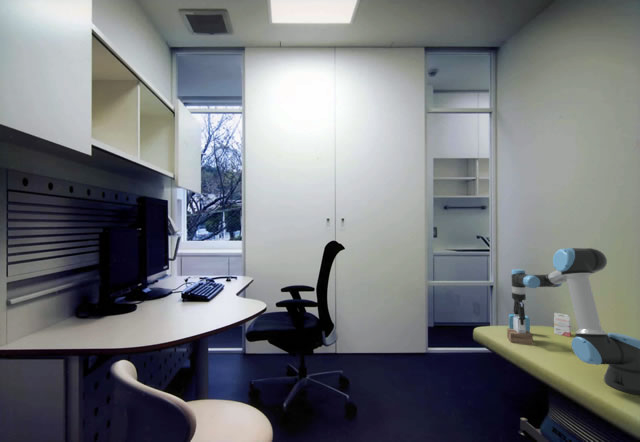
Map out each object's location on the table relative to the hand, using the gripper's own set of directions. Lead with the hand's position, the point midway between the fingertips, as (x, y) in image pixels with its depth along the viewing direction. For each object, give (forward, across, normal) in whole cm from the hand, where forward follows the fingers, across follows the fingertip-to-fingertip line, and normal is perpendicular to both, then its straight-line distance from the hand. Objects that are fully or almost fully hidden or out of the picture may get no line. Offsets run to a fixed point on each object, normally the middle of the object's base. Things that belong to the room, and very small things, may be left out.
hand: (519, 327), depth 199 cm
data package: (+9, -18, +4) cm, 21 cm away
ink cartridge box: (+9, -24, +31) cm, 40 cm away
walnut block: (+9, 0, 0) cm, 9 cm away
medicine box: (+3, 0, 0) cm, 3 cm away
